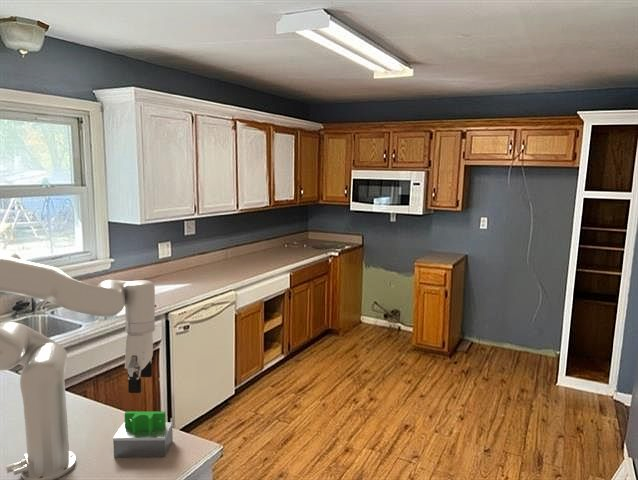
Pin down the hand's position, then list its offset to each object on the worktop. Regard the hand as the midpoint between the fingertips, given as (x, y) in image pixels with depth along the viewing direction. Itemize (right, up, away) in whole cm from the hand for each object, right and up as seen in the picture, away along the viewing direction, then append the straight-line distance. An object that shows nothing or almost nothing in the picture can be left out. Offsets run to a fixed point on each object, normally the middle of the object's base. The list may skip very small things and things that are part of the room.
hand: (140, 384), depth 131 cm
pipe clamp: (0, -14, +3) cm, 14 cm away
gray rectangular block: (0, -20, +3) cm, 20 cm away
